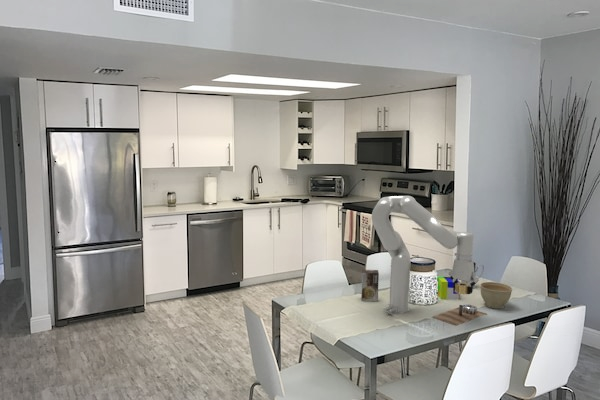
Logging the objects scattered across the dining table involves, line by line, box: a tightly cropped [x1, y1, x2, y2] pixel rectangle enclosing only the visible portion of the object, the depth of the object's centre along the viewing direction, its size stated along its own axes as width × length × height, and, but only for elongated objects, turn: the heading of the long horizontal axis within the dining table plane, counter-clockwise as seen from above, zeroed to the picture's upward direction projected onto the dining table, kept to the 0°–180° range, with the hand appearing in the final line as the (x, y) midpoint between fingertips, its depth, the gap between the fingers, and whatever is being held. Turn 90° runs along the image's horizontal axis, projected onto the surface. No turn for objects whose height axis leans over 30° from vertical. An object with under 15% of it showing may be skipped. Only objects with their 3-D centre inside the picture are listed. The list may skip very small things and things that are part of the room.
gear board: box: [431, 304, 487, 327], centre depth 255 cm, size 27×14×6 cm, turn 130°
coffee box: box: [360, 269, 380, 302], centre depth 280 cm, size 9×6×16 cm
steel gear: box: [462, 303, 478, 314], centre depth 260 cm, size 7×7×3 cm
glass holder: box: [460, 261, 485, 290], centre depth 307 cm, size 9×14×15 cm, turn 100°
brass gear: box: [455, 281, 469, 295], centre depth 254 cm, size 7×7×4 cm
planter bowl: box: [479, 281, 513, 309], centre depth 274 cm, size 16×16×11 cm
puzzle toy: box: [436, 276, 461, 300], centre depth 288 cm, size 10×10×10 cm
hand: (462, 291), depth 254 cm, fingers closed on brass gear, 7 cm apart
